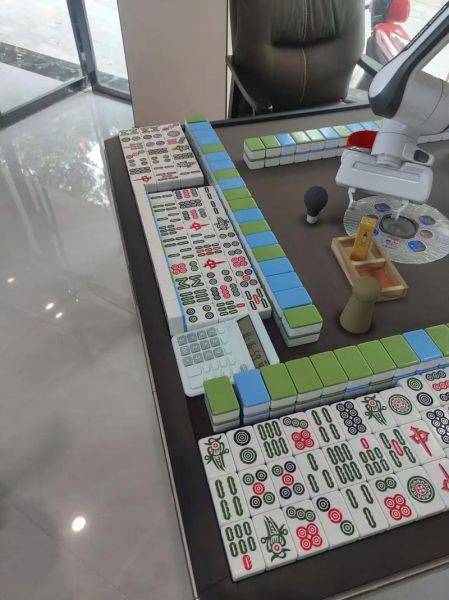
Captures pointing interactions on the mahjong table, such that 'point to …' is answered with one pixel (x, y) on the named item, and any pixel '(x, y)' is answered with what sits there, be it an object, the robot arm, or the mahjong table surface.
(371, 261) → the sorting tray
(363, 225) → the supplement box
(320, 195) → the light bulb
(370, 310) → the olive pawn figure
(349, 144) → the ceramic cup
